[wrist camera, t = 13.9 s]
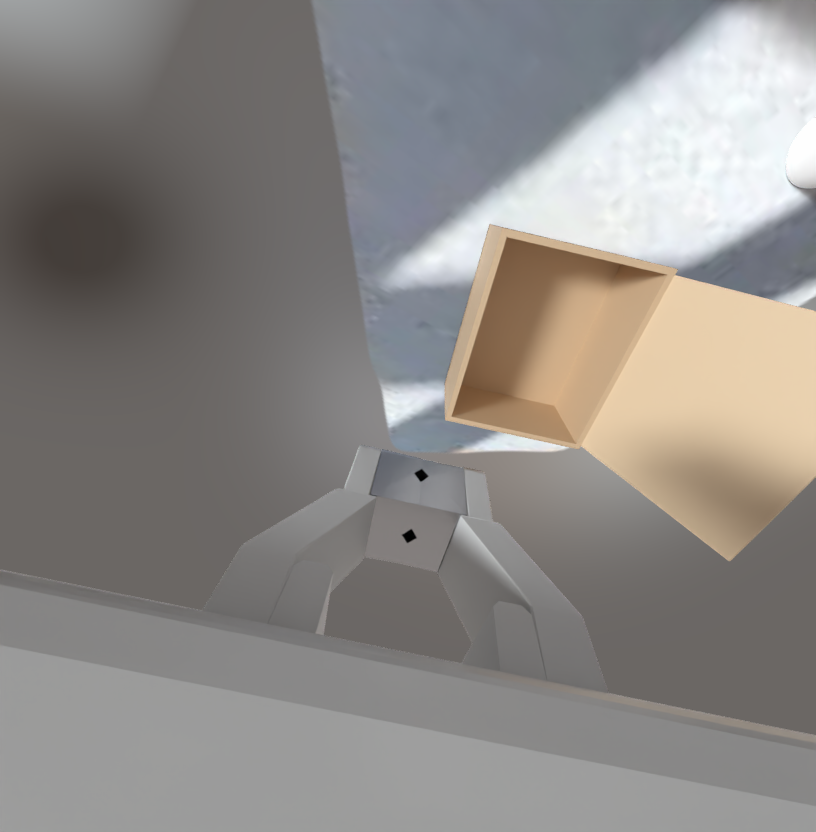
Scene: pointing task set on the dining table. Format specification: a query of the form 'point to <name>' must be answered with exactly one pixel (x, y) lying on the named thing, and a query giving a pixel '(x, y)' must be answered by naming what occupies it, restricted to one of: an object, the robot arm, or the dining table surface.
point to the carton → (547, 335)
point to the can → (803, 158)
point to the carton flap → (715, 411)
